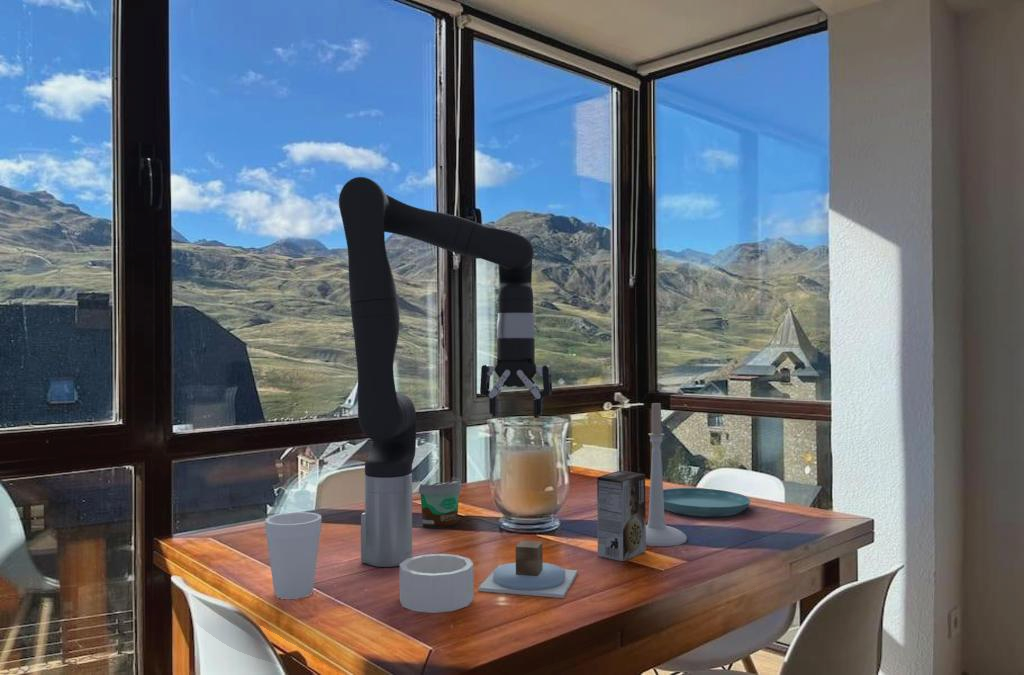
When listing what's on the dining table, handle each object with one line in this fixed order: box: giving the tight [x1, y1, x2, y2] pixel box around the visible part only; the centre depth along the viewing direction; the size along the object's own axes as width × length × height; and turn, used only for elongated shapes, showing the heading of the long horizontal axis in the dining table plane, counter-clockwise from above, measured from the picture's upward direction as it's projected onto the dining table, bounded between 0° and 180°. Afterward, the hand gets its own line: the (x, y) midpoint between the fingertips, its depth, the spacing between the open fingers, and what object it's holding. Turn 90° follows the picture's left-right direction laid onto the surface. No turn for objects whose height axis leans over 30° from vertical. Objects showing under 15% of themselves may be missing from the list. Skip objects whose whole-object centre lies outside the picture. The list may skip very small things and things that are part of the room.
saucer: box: [663, 487, 751, 518], centre depth 199 cm, size 24×24×3 cm
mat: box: [478, 564, 578, 599], centre depth 139 cm, size 15×14×1 cm
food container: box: [418, 476, 463, 529], centre depth 182 cm, size 12×6×10 cm, turn 143°
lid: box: [492, 540, 565, 591], centre depth 139 cm, size 13×13×6 cm
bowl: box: [399, 553, 475, 614], centre depth 130 cm, size 12×12×6 cm
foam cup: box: [264, 511, 322, 600], centre depth 133 cm, size 10×9×13 cm
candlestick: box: [646, 402, 688, 547], centre depth 169 cm, size 13×13×30 cm
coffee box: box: [596, 470, 647, 562], centre depth 157 cm, size 9×6×16 cm
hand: (516, 417), depth 154 cm, fingers open, 8 cm apart
